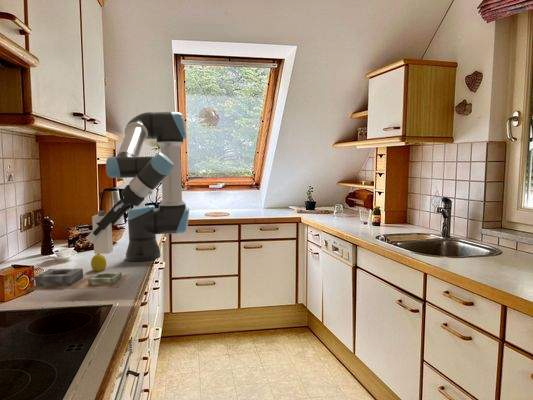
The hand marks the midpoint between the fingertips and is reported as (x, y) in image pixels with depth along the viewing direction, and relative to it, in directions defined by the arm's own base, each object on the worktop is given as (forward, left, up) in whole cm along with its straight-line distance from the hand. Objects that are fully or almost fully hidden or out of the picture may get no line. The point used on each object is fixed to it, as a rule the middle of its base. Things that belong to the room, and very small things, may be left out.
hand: (92, 239), depth 146 cm
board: (+3, -3, -17) cm, 17 cm away
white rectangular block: (-2, +3, -5) cm, 6 cm away
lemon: (-9, -14, -17) cm, 24 cm away
